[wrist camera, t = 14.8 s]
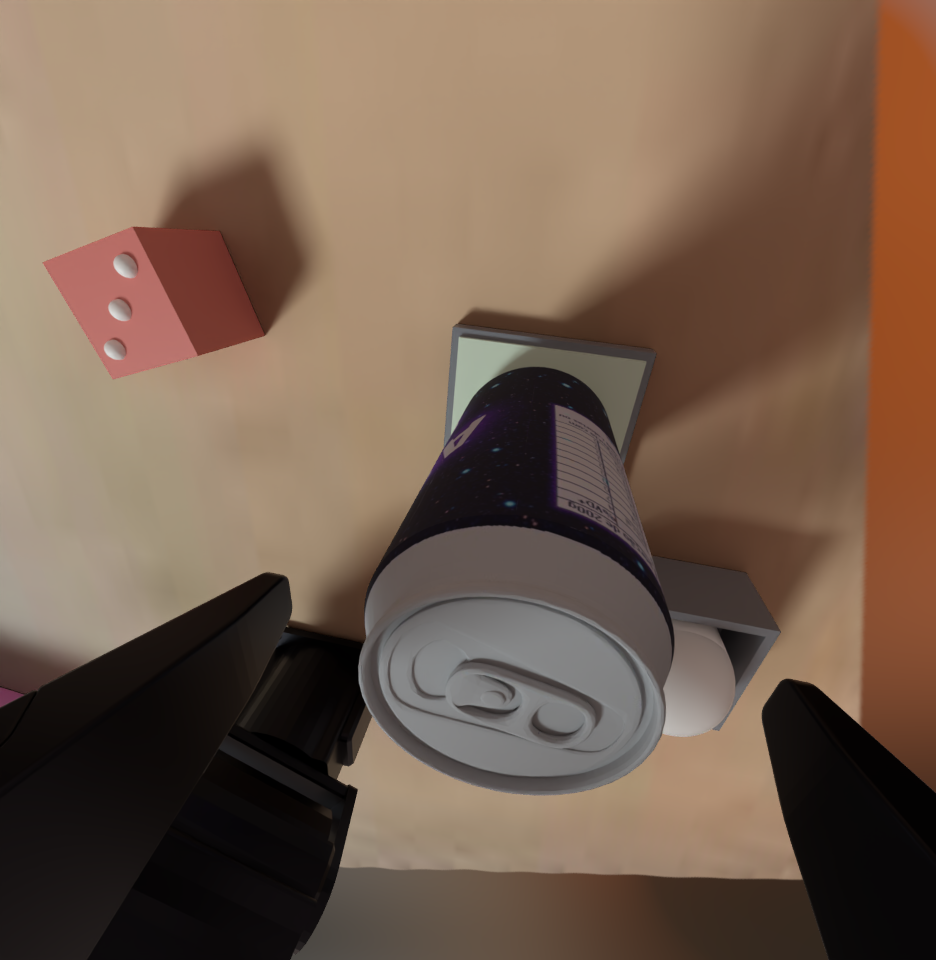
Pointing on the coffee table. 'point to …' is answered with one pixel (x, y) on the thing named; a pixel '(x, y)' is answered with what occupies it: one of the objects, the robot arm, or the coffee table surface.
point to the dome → (697, 681)
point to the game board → (596, 364)
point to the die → (155, 297)
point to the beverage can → (521, 601)
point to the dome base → (721, 612)
